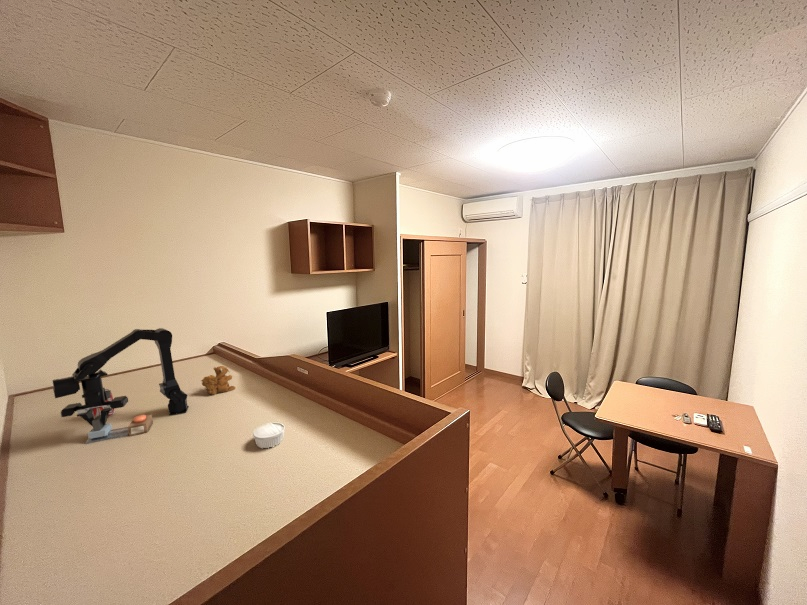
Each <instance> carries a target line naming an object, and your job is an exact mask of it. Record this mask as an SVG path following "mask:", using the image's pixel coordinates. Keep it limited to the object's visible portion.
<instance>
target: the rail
mask: <svg viewBox="0 0 807 605" xmlns="http://www.w3.org/2000/svg"><path fill="white" fill-rule="evenodd" d="M125 437H129V433H128V426H125V427H121V428H119V427H118V428H114V429H113V428H112V429H111V431H110V432H108V436H103V437H98V438H93V439H89V438H88V439H87V440H86V441H85V445H89V444H94V443H98V442H104V441H108V440H114V439H120V438H125Z"/></svg>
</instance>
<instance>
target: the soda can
mask: <svg viewBox="0 0 807 605" xmlns="http://www.w3.org/2000/svg"><path fill="white" fill-rule="evenodd" d="M108 390H110V389H109V388H105V391H108ZM113 399H114V398H113V393H112V392H111V398H108V400H105V402H106V401H112V400H113ZM102 410H103V407H100V408H94V409H93V416H94V419H95V418H96V417H97V416H98V415H101V413H100V412H101V411H102ZM115 411H116V408H115V409H112V410H111V411H110V412H109V414H108V418H110V417H112V416H113V415H115ZM108 418H107V419H108Z"/></svg>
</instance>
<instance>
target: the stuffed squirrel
mask: <svg viewBox="0 0 807 605" xmlns="http://www.w3.org/2000/svg"><path fill="white" fill-rule="evenodd" d="M213 371H214V373H215V375H213V374H209V375H208V376H204V377H203V378H202V379H201V380H200V382H201V385H202V386H203V387H205V391H206V392H207V393H208V394H209V395H216V394H218V393H222V394H223V393H228V392H231V391H234V390H235V389H236V386H235V385H231V386H230V383H229V381H230V380H232V379H233V375H231V374H229V375H227V373H230V372H231V371H230V370H229V369H228V368H227V366H224V365H221V366H220V365H219V366H217V367H215V366H214V367H213Z"/></svg>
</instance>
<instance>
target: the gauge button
mask: <svg viewBox="0 0 807 605" xmlns="http://www.w3.org/2000/svg"><path fill="white" fill-rule="evenodd" d="M146 416H147V415H146V414H140V415H136V416H134V417H132V418H133V419H132V421H133V420H134V423H140V422H143V421H145V420H146Z"/></svg>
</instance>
